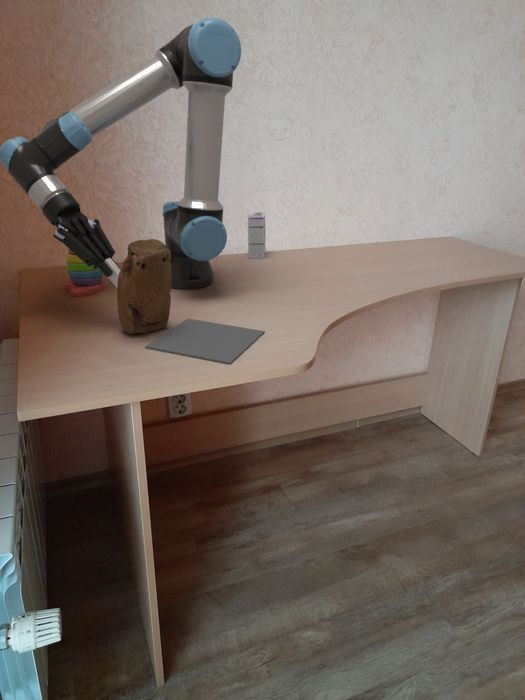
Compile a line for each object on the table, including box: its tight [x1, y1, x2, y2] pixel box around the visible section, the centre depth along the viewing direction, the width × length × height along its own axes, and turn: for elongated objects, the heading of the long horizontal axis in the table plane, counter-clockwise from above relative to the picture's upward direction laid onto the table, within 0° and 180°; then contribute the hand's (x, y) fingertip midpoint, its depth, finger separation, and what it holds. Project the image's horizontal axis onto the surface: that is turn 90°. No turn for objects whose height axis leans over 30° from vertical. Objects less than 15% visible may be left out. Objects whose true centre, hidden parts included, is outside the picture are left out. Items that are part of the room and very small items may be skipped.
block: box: [116, 238, 172, 334], centre depth 116 cm, size 11×8×20 cm
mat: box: [144, 318, 266, 365], centre depth 116 cm, size 18×20×1 cm
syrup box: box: [247, 212, 266, 260], centre depth 180 cm, size 6×6×14 cm
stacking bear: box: [64, 248, 105, 297], centre depth 144 cm, size 11×10×18 cm
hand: (123, 285), depth 118 cm, fingers closed
